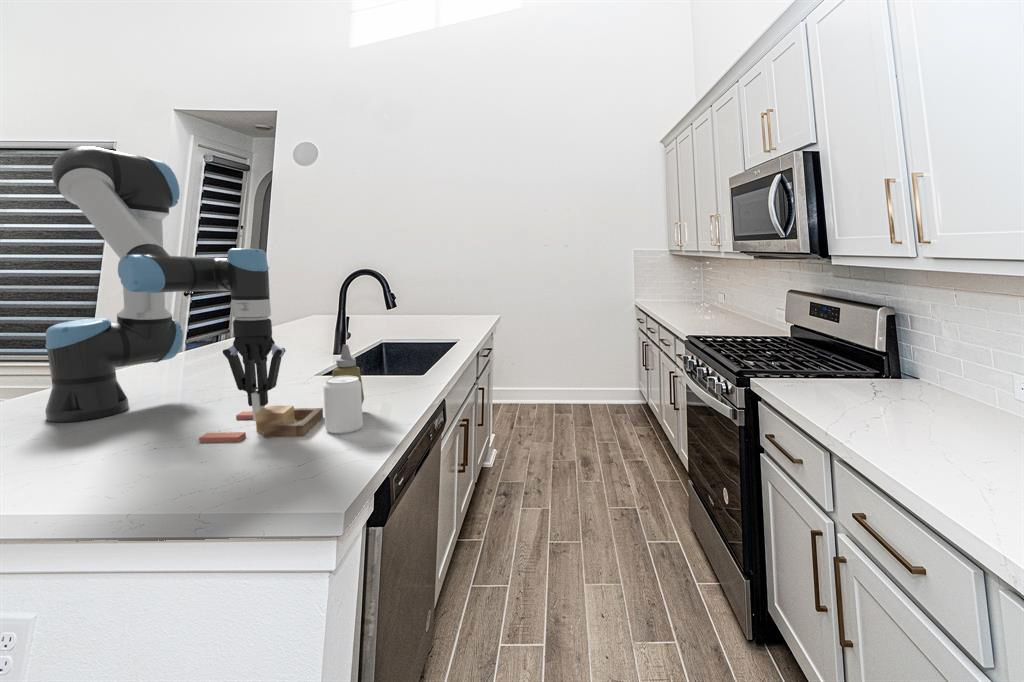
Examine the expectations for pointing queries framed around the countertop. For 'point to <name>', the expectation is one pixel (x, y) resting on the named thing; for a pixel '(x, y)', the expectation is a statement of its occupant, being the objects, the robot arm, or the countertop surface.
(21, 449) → the countertop surface
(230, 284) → the robot arm
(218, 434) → the mats
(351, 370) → the squeeze bottle
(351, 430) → the beverage can
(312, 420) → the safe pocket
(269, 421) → the oak block
